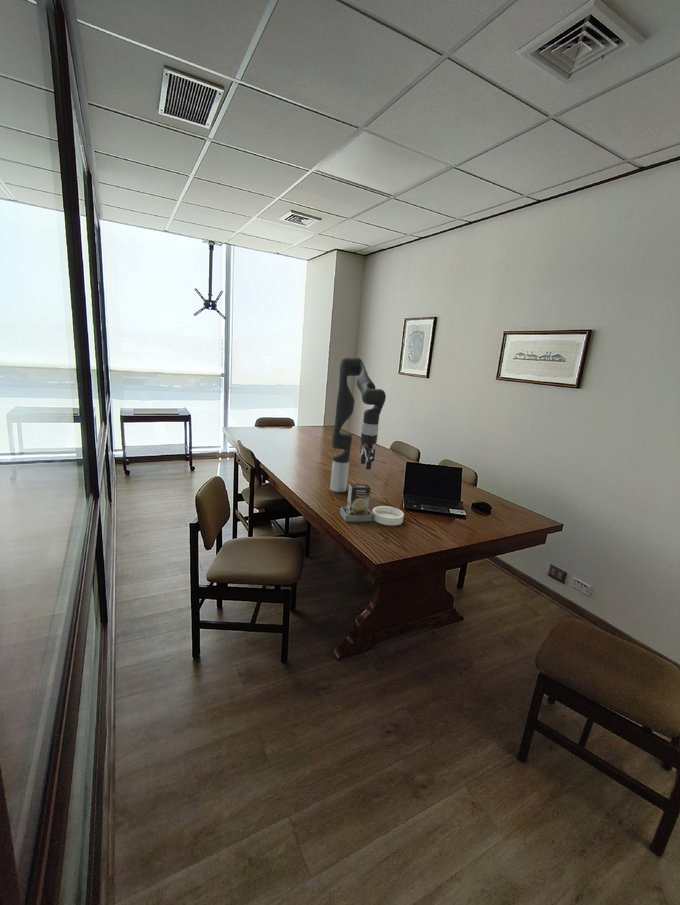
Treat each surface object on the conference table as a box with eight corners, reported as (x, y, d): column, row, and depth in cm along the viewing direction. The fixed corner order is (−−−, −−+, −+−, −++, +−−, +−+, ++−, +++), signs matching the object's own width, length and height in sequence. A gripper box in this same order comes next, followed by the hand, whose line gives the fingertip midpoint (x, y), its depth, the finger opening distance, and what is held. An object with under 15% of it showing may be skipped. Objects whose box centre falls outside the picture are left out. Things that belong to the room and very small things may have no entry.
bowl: (367, 512, 199) (368, 506, 199) (395, 512, 204) (396, 505, 203) (378, 525, 186) (379, 518, 185) (407, 524, 190) (408, 518, 189)
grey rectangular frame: (339, 512, 196) (340, 507, 195) (365, 512, 200) (366, 506, 199) (345, 522, 186) (346, 516, 186) (373, 521, 190) (373, 515, 189)
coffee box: (348, 519, 189) (351, 487, 185) (345, 514, 195) (348, 483, 191) (367, 519, 191) (370, 488, 187) (363, 514, 197) (367, 483, 193)
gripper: (357, 428, 189) (353, 461, 193) (366, 436, 175) (362, 471, 180) (372, 429, 190) (368, 462, 195) (382, 436, 177) (378, 471, 181)
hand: (365, 466), depth 187 cm, fingers open, 8 cm apart
